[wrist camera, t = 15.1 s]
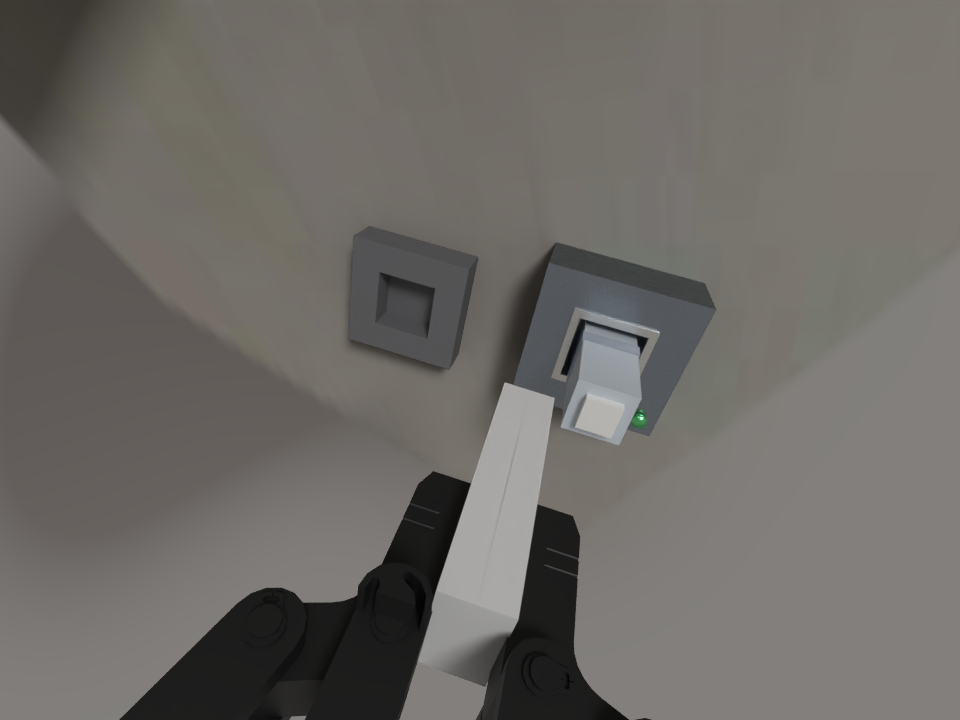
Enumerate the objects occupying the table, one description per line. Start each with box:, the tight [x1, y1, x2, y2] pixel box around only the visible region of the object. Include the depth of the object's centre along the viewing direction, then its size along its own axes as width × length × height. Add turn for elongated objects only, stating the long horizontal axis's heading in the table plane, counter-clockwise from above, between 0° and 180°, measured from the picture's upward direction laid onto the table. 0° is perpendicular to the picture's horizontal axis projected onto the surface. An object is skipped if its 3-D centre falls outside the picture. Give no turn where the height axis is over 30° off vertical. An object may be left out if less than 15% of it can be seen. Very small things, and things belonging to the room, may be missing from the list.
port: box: [513, 243, 716, 436], centre depth 38 cm, size 12×12×6 cm
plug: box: [560, 319, 642, 445], centre depth 35 cm, size 4×4×13 cm
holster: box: [348, 226, 478, 370], centre depth 42 cm, size 10×10×3 cm
